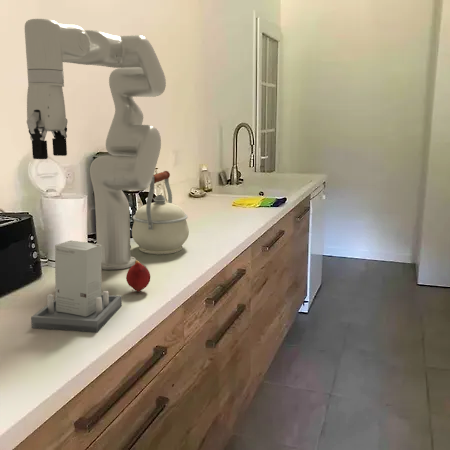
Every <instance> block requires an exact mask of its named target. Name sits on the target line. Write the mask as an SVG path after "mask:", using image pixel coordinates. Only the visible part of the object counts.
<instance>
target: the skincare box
mask: <svg viewBox="0 0 450 450" xmlns="http://www.w3.org/2000/svg"><path fill="white" fill-rule="evenodd" d="M54 259H55V260H54V261H55V262H54V264H55V265H54V267H55V270H54V271H55V272H54V273H55V276H54V280H55V281H54V282H55V283H54V284H55V298H56V311H57V312H63V313H69V314H75V315H80V316H84V317H87V316H89V315H91V314H92V313H94V312H96V298H97V297H101V295H102V269H101V245H98V244H97V243H96V244H95V243H91V242H86V241H77V240H67V241H65V242H61V243H59V244H55V245H54Z"/></svg>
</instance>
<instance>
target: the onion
mask: <svg viewBox="0 0 450 450" xmlns="http://www.w3.org/2000/svg"><path fill="white" fill-rule="evenodd" d="M125 279H126V283H127V284H128V286H129V287H131V289H133V290H134V291H135V292H137V293H140V292H141V291H143V290H144V289H146V288H147V287H148V286H149V283H150V282H151V273H150V270H149V269H148V268H147V267H146V266H145V265H144V264H142V263H141V262H140V261H139V260H137V259H136V261H135V265H133V266H131V267H129V269H128V271H127V273H126V277H125Z"/></svg>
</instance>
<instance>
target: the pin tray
mask: <svg viewBox="0 0 450 450" xmlns="http://www.w3.org/2000/svg"><path fill="white" fill-rule="evenodd" d="M46 297H47V298H46V301H47V304H46V305H45V306H44V307H42V308H41V309H39V310H38V311H37V312H35V313H34V314H33V315H32V316H31V318H30V319H31V320H30V321H31V322H30V323H31V328H32V329H42V330H56V331H70V332H84V333H85V332H86V333H98V332H100V331H101V330H102V328H103V327H104V325H106V324H107V322H108V321H110V319H111V318H113V316H114V315H115V314H116V313H117V311H118V310H119V309H120V308H121V307H122V306H123V305H122V295H111V294H109V291H108V290H103V291H102V294H101V297H97V298H96V312H94V313H92V314H91V315H89V316H87V317H84V316H80V315H75V314H69V313H63V312H57V311H56V297H55V298H54V294H50V293H49V294H47V295H46Z"/></svg>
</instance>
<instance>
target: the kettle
mask: <svg viewBox="0 0 450 450" xmlns="http://www.w3.org/2000/svg"><path fill="white" fill-rule="evenodd" d="M170 176H171V174H170V171H168V170H163V171H162V172H158V173H154V175H153V178H152V181H151V184H150V185H149V191H148V195H147V200H146V204H143V205H142V206H140V207H139V208H138V209H137V210H136V212H135V214H134V215H132V219H133V225H132V230H131V236H132V239H133V241H134V242H135V244H137V246H138V250H139V251H140V252H142V253H144V254H148V255H169V254H175V253H177V252H179V251H182V249H183V245H184V243H186V241H187V239H188V238H189V231H190V230H189V225H188V223H187V219H188V218H189V217H188V214H186V213H185V211H184V210H183V208H182V207H181V206H180V205H177V204H175V203H173V193H172V190H171V185H170V179H169V178H170ZM162 181H164V185H165V188H166V192H167V199H166V197H165V196H164V195H162V194H158V195H156V196H155V197H154V199H153V196H154V192H155V184H156V183H160V182H162ZM152 201H154V202H152ZM166 201H167V202H166Z"/></svg>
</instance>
